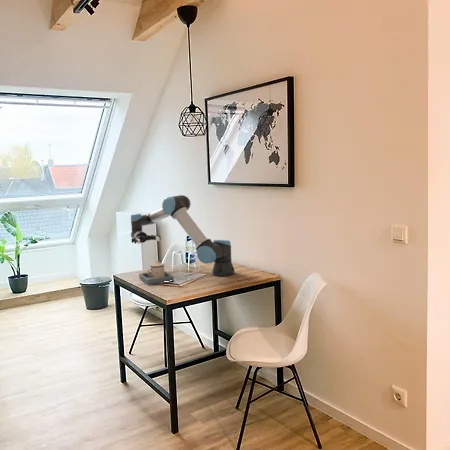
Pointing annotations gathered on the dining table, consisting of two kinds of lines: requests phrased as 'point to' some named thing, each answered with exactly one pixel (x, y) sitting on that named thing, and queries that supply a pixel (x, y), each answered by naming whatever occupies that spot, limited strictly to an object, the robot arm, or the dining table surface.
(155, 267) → the teacup with lid
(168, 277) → the grey tray
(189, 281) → the dining table surface
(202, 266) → the dining table surface
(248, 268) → the dining table surface
